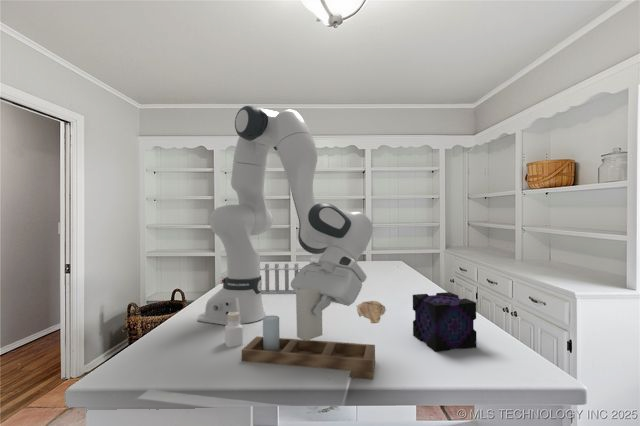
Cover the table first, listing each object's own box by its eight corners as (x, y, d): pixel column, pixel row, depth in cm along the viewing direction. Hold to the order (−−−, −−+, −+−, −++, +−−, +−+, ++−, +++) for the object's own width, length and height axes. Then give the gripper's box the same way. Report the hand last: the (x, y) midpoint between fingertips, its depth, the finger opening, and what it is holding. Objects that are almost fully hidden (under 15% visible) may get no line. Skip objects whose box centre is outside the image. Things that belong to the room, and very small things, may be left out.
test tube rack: (248, 294, 153) (248, 264, 153) (250, 291, 158) (250, 263, 157) (304, 293, 152) (304, 264, 152) (305, 291, 157) (304, 262, 157)
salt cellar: (260, 357, 82) (260, 320, 82) (266, 350, 86) (266, 315, 86) (276, 358, 81) (276, 321, 81) (282, 352, 85) (281, 315, 85)
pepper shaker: (224, 348, 92) (224, 312, 92) (239, 345, 94) (238, 310, 94) (228, 353, 89) (227, 316, 89) (243, 350, 91) (243, 314, 91)
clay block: (296, 336, 81) (296, 290, 81) (312, 331, 85) (311, 287, 85) (306, 340, 79) (305, 292, 79) (322, 335, 82) (321, 289, 82)
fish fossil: (389, 325, 110) (389, 321, 110) (357, 327, 111) (357, 323, 111) (380, 302, 136) (379, 299, 136) (354, 304, 137) (354, 301, 137)
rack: (241, 367, 81) (241, 350, 81) (256, 351, 89) (256, 336, 89) (372, 379, 74) (372, 360, 74) (375, 361, 83) (375, 344, 83)
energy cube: (450, 332, 102) (449, 292, 102) (476, 347, 91) (476, 302, 91) (413, 335, 100) (412, 294, 100) (435, 352, 88) (434, 305, 88)
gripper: (302, 254, 94) (274, 296, 87) (359, 261, 79) (330, 313, 72) (315, 268, 97) (288, 310, 90) (372, 278, 82) (344, 329, 75)
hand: (307, 311), depth 81 cm, fingers closed on clay block, 3 cm apart
